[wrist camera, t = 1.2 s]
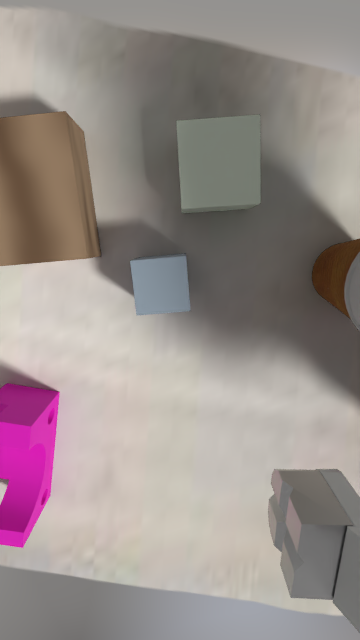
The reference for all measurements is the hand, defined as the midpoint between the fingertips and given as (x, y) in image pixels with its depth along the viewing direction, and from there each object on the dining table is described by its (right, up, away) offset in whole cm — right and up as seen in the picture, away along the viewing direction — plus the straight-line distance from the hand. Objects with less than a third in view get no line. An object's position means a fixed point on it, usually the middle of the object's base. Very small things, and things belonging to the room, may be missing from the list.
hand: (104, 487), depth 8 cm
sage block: (+5, +19, +25) cm, 31 cm away
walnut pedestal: (-12, +16, +25) cm, 32 cm away
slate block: (0, +8, +27) cm, 28 cm away
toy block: (-17, -11, +32) cm, 38 cm away
